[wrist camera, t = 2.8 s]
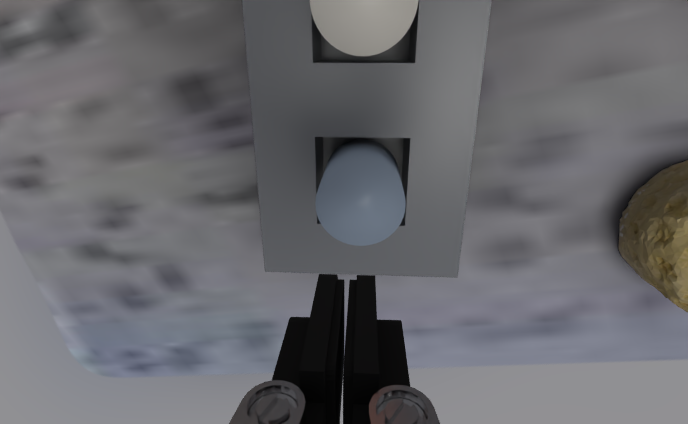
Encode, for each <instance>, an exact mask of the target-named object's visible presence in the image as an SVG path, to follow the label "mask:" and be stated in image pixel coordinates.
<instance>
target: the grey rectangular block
mask: <svg viewBox="0 0 688 424" xmlns="http://www.w3.org/2000/svg"><path fill="white" fill-rule="evenodd" d="M491 2H492V0H418V7H417V11H416V14H415V17H414V20H413V22H412V24H411V26H410V28H409V29H408V31H407V32H406V34H405V35H404V36H403V37H402V39H401V40H400V41H399V42H397V43H396V44H395V45H394V46H392V47H391V48H390V49H388V50H386V51H384V52H382V53H379V54H376V55H371V56H354V55H350V54H347V53H344V52H342V51H340V50H338V49H336V48H335V47H334V46H332V45H331V44H330V43H329V42H328V41H327V40H326V39H325V38H324V37H323V36H322V34H321V33H320V31H319V30H318V28H317V26H316V24H315V22H314V19H313V16H312V12H311V8H310V0H242V8H243V19H244V31H245V43H246V55H247V66H248V78H249V90H250V102H251V114H252V125H253V137H254V149H255V161H256V172H257V184H258V196H259V208H260V220H261V231H262V243H263V255H264V267H265V272H293V273H325V274H357V275H389V276H422V277H454V278H457V276H458V268H459V260H460V252H461V244H462V236H463V228H464V220H465V212H466V204H467V196H468V188H469V180H470V172H471V164H472V156H473V147H474V139H475V131H476V123H477V115H478V107H479V99H480V91H481V83H482V75H483V67H484V59H485V51H486V43H487V35H488V27H489V18H490V10H491ZM356 139H369V140H373V141H376V142H378V143H380V144H382V145H383V146H385V147H386V148H387V149H388V150H389V151H390V152H391V153H392V154H393V156H394V158H395V160H396V162H397V165H398V169H399V173H400V177H401V182H402V186H403V190H404V195H405V201H406V207H405V213H404V217H403V219H402V222H401V224H400V225H399V227H398V228H397V229H396V231H395V232H394V233H393V234H392V235H390V236H389V237H388V238H386V239H385V240H383V241H381V242H378V243H376V244H372V245H366V246H355V245H350V244H346V243H343V242H341V241H339V240H337V239H335V238H334V237H332V236H331V235H330V234H329V233H328V232H327V231H326V230H325V229H324V228H323V226H322V225H321V223H320V221H319V219H318V216H317V213H316V206H315V202H316V194H317V191H318V188H319V185H320V182H321V180H322V177H323V174H324V171H325V168H326V166H327V163H328V160H329V158H330V156H331V155H332V154H333V152H334V151H335V150H336V149H337V148H338V147H339V146H341V145H342V144H344V143H346V142H348V141H351V140H356Z"/></svg>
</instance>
